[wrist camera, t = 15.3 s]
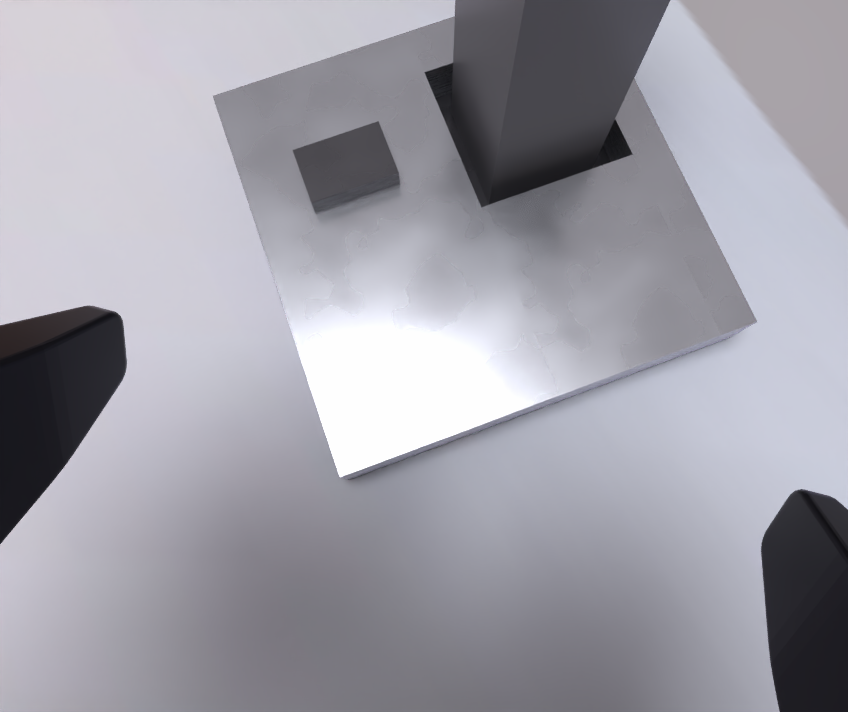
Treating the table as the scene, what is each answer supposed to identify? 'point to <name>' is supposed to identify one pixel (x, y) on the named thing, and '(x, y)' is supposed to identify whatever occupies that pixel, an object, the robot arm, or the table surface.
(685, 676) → the table surface
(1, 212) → the table surface
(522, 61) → the plug
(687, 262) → the socket
